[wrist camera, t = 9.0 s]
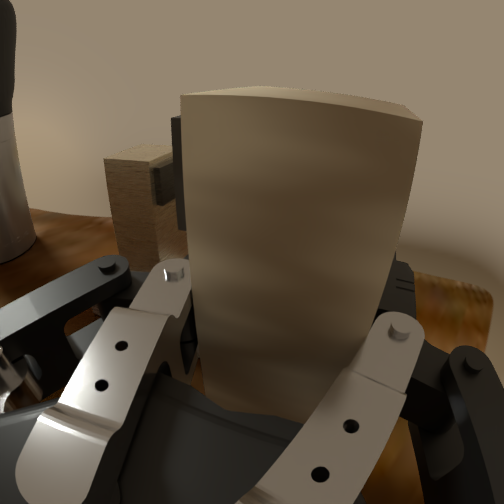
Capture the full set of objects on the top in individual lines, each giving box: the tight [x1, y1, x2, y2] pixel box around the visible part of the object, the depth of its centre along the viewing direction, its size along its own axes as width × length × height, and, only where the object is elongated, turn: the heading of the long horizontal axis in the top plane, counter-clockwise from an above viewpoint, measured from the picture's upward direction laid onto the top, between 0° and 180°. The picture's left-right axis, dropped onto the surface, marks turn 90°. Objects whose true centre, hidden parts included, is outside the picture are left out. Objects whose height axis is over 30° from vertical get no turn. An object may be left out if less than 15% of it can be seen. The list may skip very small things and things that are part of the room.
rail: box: [92, 144, 200, 358], centre depth 22 cm, size 22×8×13 cm, turn 68°
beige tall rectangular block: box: [171, 86, 423, 424], centre depth 9 cm, size 4×4×12 cm
